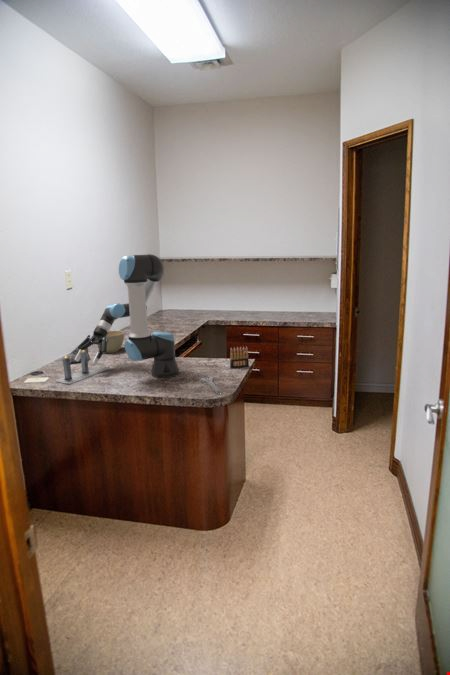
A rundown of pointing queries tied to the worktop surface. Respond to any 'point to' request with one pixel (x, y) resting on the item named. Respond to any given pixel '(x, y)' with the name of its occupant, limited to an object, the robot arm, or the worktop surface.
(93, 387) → the worktop surface
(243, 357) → the ammunition clip
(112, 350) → the flower pot
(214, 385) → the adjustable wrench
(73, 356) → the mineral rock
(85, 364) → the leg
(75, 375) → the bolt plate
